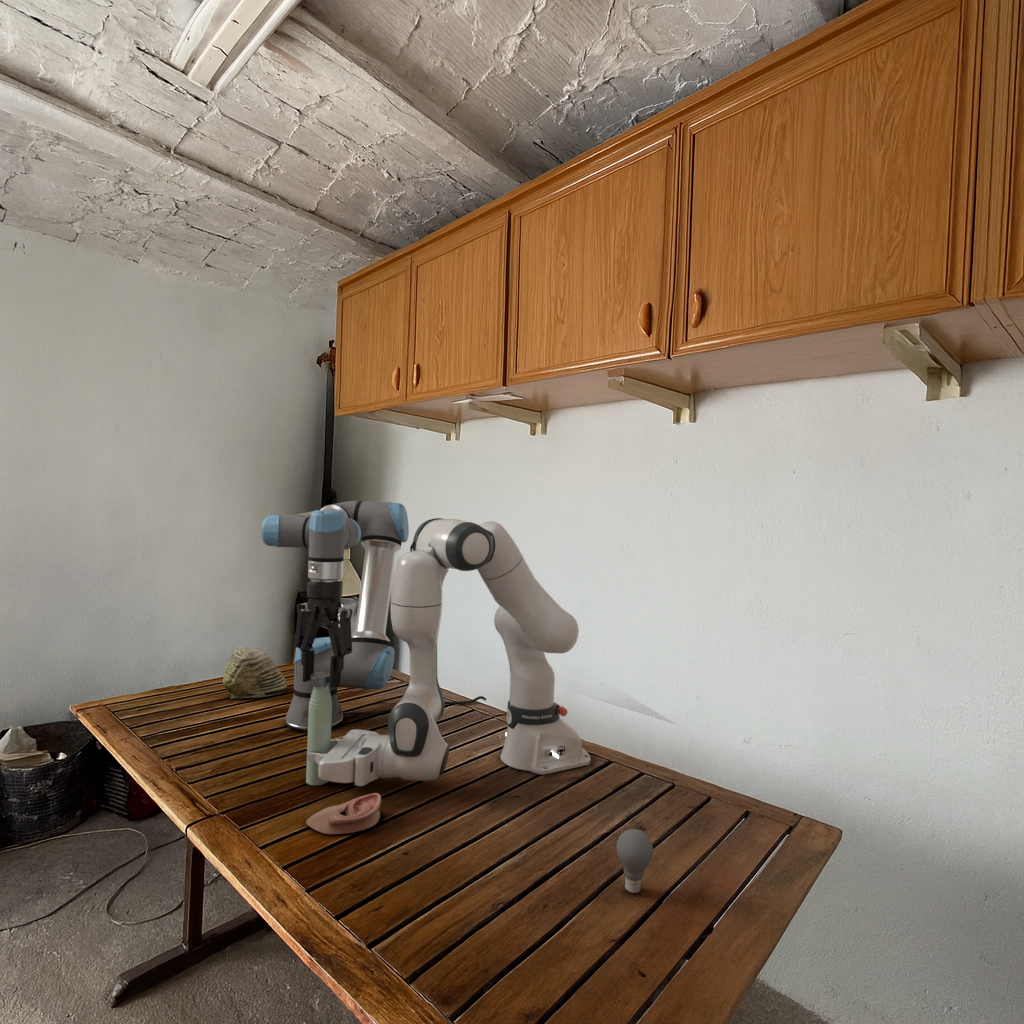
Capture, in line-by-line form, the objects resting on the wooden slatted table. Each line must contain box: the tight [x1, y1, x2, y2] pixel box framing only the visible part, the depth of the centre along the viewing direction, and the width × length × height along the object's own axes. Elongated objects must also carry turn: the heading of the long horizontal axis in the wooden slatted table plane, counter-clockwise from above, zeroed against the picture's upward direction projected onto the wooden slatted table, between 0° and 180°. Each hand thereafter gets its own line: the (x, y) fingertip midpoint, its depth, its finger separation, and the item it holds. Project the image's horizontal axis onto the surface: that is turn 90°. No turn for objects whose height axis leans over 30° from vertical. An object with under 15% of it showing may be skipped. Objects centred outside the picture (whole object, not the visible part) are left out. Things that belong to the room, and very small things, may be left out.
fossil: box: [222, 646, 288, 699], centre depth 198 cm, size 9×18×15 cm, turn 132°
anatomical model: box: [305, 792, 382, 835], centre depth 124 cm, size 13×4×12 cm
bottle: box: [305, 686, 332, 786], centre depth 141 cm, size 5×5×23 cm
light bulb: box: [615, 828, 654, 894], centre depth 106 cm, size 6×6×10 cm
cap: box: [310, 672, 330, 687], centre depth 141 cm, size 5×5×2 cm
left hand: (321, 682), depth 141 cm, fingers open, 7 cm apart
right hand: (314, 750), depth 141 cm, fingers closed on bottle, 5 cm apart
